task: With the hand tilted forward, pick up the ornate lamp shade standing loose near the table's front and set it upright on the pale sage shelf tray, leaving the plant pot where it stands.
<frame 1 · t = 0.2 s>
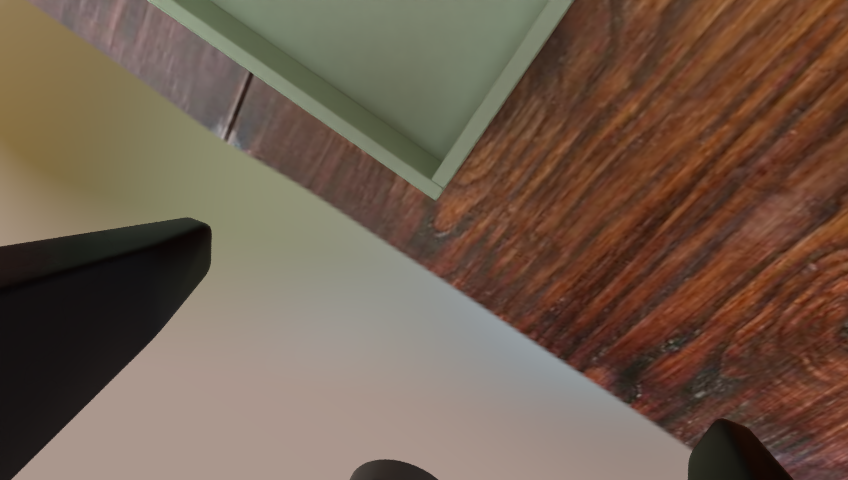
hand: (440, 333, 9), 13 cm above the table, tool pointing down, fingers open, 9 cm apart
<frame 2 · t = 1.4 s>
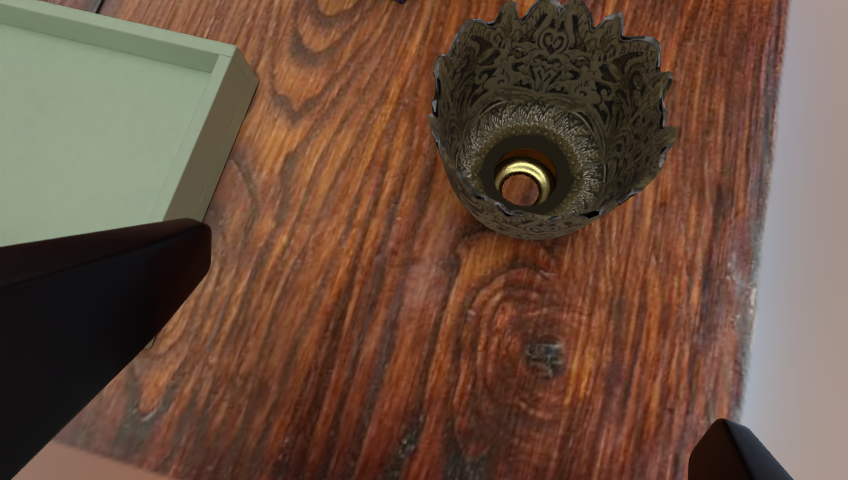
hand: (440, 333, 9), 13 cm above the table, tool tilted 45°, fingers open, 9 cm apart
shelf tray: (42, 161, 25), on the table
ornate lamp shade: (519, 193, 24), on the table
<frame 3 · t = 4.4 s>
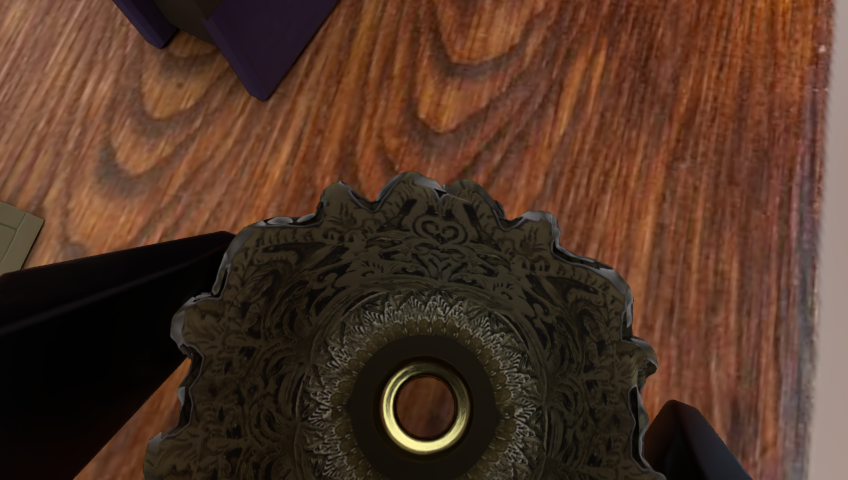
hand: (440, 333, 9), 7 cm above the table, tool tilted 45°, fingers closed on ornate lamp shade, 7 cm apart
ornate lamp shade: (426, 406, 15), on the table, touching gripper
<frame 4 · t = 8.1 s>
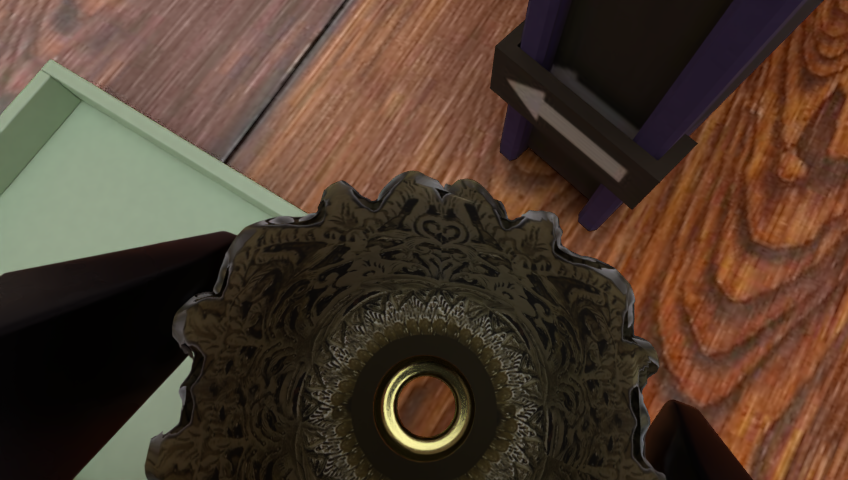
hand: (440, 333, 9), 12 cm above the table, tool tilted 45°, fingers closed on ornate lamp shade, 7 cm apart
shelf tray: (141, 310, 22), on the table
ornate lamp shade: (426, 406, 15), point 5 cm above the table, touching gripper
book: (710, 28, 25), on the table
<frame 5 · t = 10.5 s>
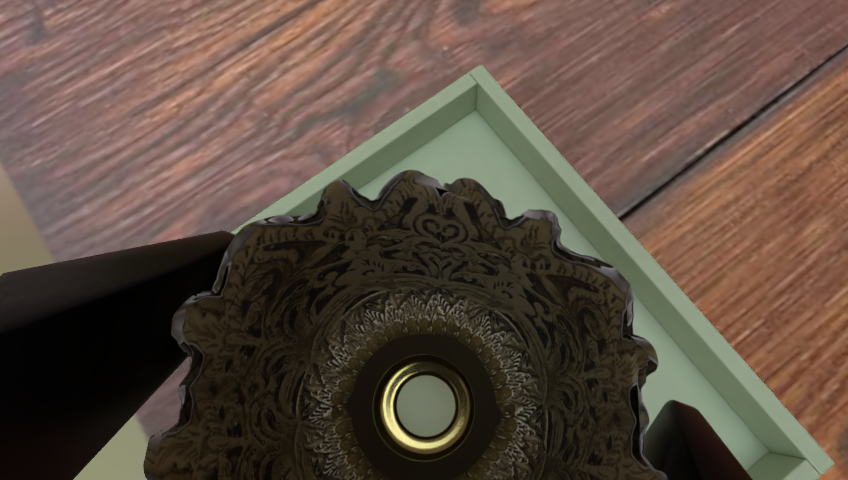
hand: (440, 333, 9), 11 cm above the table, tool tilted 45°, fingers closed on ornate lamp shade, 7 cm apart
shelf tray: (477, 362, 20), on the table
ornate lamp shade: (426, 405, 15), point 4 cm above the table, touching gripper
when the fingers open (7 cm above the table, at t = 12.2 s): ornate lamp shade stays where it is, resting on shelf tray.
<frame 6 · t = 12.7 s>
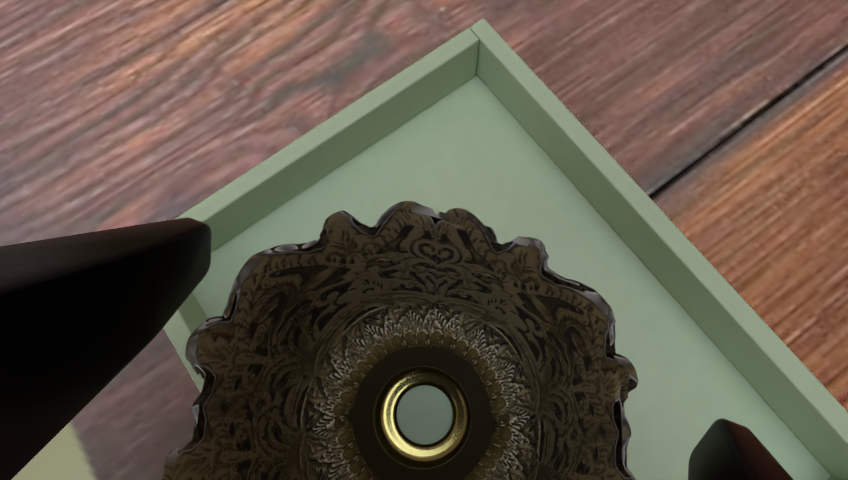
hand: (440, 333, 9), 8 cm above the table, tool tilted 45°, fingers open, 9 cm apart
shelf tray: (479, 368, 17), on the table
ornate lamp shade: (425, 414, 16), point 1 cm above the table, touching shelf tray
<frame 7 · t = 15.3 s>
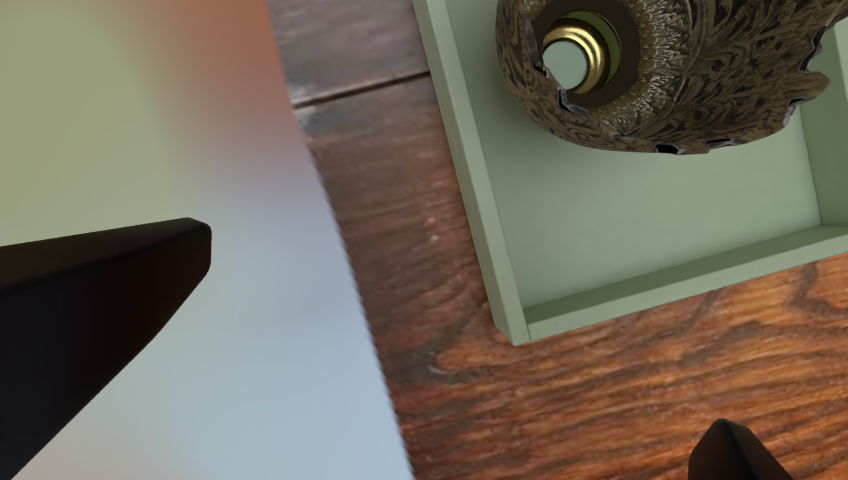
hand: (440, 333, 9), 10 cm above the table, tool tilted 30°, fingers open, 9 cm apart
shelf tray: (611, 53, 19), on the table
ornate lamp shade: (561, 67, 19), point 1 cm above the table, touching shelf tray
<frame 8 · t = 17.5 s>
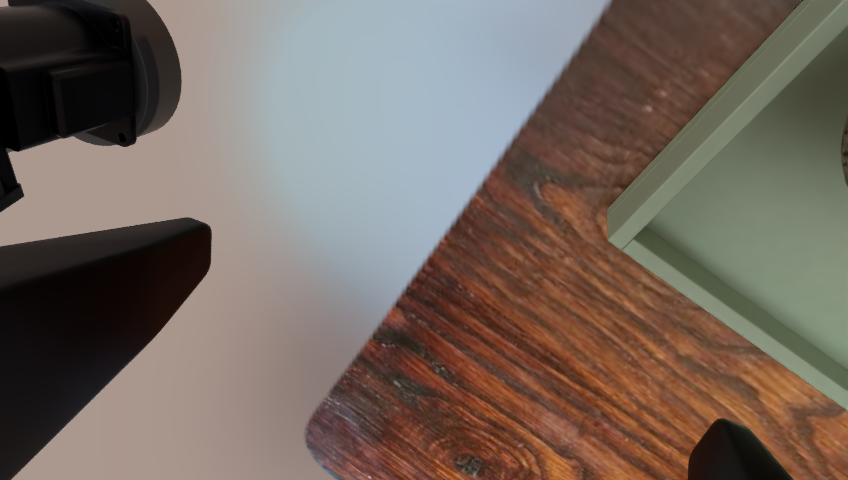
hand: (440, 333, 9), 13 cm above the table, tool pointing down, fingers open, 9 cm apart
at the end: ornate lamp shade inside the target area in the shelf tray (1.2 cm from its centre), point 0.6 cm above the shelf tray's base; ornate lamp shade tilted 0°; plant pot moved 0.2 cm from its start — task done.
